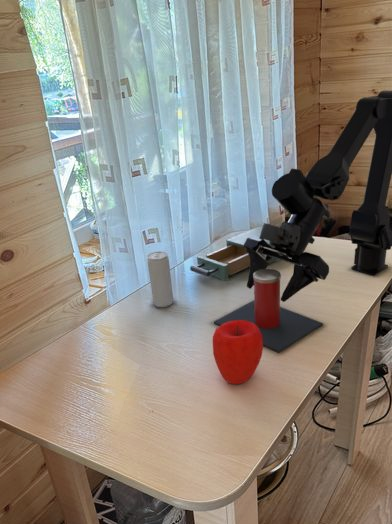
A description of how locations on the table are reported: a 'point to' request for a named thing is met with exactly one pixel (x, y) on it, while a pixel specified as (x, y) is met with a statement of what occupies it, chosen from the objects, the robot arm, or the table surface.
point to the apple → (237, 350)
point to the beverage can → (160, 278)
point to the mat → (281, 335)
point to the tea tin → (267, 298)
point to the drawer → (222, 262)
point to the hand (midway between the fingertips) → (264, 294)
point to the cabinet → (241, 238)
